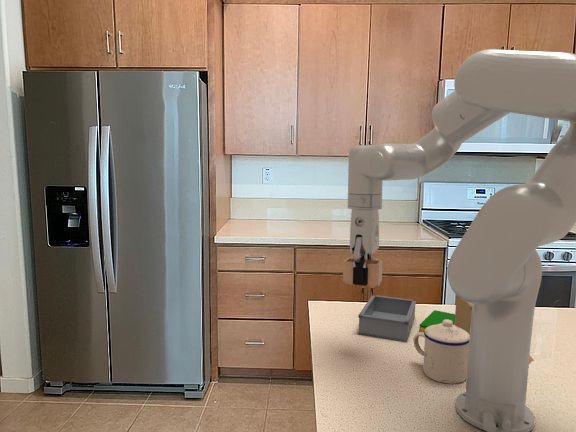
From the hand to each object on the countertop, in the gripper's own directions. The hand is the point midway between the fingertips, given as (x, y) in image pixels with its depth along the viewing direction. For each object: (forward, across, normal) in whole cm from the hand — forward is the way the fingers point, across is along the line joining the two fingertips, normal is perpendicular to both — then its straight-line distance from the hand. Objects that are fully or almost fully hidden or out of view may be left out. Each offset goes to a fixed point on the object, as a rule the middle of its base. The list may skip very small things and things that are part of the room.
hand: (362, 281), depth 101 cm
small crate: (0, 0, 0) cm, 0 cm away
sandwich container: (+18, +11, -28) cm, 35 cm away
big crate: (+17, +19, -3) cm, 26 cm away
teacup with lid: (+17, -3, -17) cm, 25 cm away
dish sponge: (+18, +24, -16) cm, 34 cm away
